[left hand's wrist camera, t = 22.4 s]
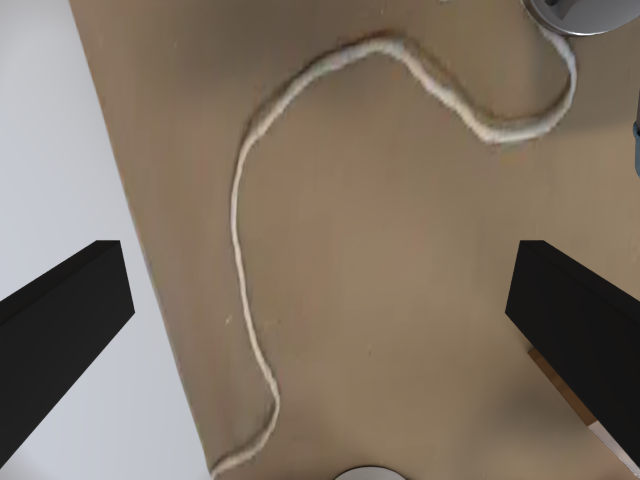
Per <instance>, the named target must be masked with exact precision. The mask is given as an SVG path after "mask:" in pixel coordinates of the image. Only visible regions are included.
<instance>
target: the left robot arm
mask: <svg viewBox="0 0 640 480" xmlns="http://www.w3.org/2000/svg"><path fill="white" fill-rule="evenodd" d="M523 1H524V3H525V5H526V7H527V9H528V10H529V12H530V13H531V15H532V16H533V17H534V18H535V19H536V20H537V21H538V22H539V23H540V24H541V25H542V26H544V27H545V28H547V29H548V30H550V31H552V32H554V33H557V34H560V35H564V36H569V37H585V36H591V35H595V34H600V33H604V32H607V31H610V30H613V29H616V28H618V27H620V26H622V25H624V24H626V23H628V22H630V21H632V20H634V19H636V18H637V17H639V16H640V0H523ZM633 134H634V137H635V139H636V147H635V169H636V172H637V174H638V176H639V177H640V92H639V101H638V110H637V119H636V122H635V123H634V125H633ZM134 313H135V310H134V305H133V301H132V296H131V291H130V286H129V281H128V277H127V272H126V267H125V262H124V258H123V253H122V248H121V243H120V240H96V241H95V242H93V243H92V244H90V245H88V246H87V247H85V248H84V249H82V250H81V251H79V252H77V253H76V254H74V255H73V256H71V257H70V258H68V259H66V260H65V261H63V262H62V263H60V264H58V265H57V266H55V267H54V268H52V269H51V270H49V271H47V272H46V273H44V274H43V275H41V276H40V277H38V278H36V279H35V280H33V281H32V282H30V283H29V284H27V285H25V286H24V287H22V288H21V289H19V290H18V291H16V292H14V293H13V294H11V295H10V296H8V297H7V298H5V299H3V300H2V301H0V469H1V468H2V467H3V465H4V464H5V463H6V462H7V461H8V460H9V458H10V457H11V456H12V455H13V454H14V453H15V451H16V450H17V449H18V448H19V447H20V446H21V445H22V443H23V442H24V441H25V440H26V439H27V437H28V436H29V435H30V434H31V433H32V432H33V431H34V429H35V428H36V427H37V426H38V425H39V424H40V422H41V421H42V420H43V419H44V418H45V417H46V416H47V414H48V413H49V412H50V411H51V410H52V409H53V407H54V406H55V405H56V404H57V403H58V402H59V400H60V399H61V398H62V397H63V396H64V395H65V393H66V392H67V391H68V390H69V389H70V388H71V387H72V385H73V384H74V383H75V382H76V381H77V380H78V378H79V377H80V376H81V375H82V374H83V373H84V371H85V370H86V369H87V368H88V367H89V366H90V365H91V363H92V362H93V361H94V360H95V359H96V358H97V356H98V355H99V354H100V353H101V352H102V351H103V349H104V348H105V347H106V346H107V345H108V344H109V342H110V341H111V340H112V339H113V338H114V337H115V335H116V334H117V333H118V332H119V331H120V330H121V329H122V327H123V326H124V325H125V324H126V323H127V322H128V320H129V319H130V318H131V317H132V316H133V315H134ZM505 313H506V315H507V316H508V317H509V318H510V319H511V320H512V322H513V323H514V324H515V325H516V326H517V327H518V329H519V330H520V331H521V332H522V333H523V334H524V336H525V337H526V338H527V339H528V340H529V341H530V342H531V344H532V345H533V346H534V347H535V348H536V349H537V351H538V352H539V353H540V354H541V355H542V356H543V358H544V359H545V360H546V361H547V362H548V363H549V365H550V366H551V367H552V368H553V369H554V370H555V371H556V373H557V374H558V375H559V376H560V377H561V378H562V380H563V381H564V382H565V383H566V384H567V385H568V387H569V388H570V389H571V390H572V391H573V392H574V393H575V395H576V396H577V397H578V398H579V399H580V400H581V402H582V403H583V404H584V405H585V406H586V407H587V409H588V410H589V411H590V412H591V413H592V414H593V416H594V417H595V418H596V419H597V420H598V421H599V422H600V424H601V425H602V426H603V427H604V428H605V429H606V431H607V432H608V433H609V434H610V435H611V436H612V438H613V439H614V440H615V441H616V442H617V443H618V445H619V446H620V447H621V448H622V449H623V450H624V451H625V453H626V454H627V455H628V456H629V457H630V458H631V460H632V461H633V462H634V463H635V464H636V465H637V467H638V468H639V469H640V301H638V300H637V299H635V298H634V297H632V296H630V295H629V294H627V293H626V292H624V291H623V290H621V289H619V288H618V287H616V286H615V285H613V284H611V283H610V282H608V281H607V280H605V279H604V278H602V277H600V276H599V275H597V274H596V273H594V272H593V271H591V270H589V269H588V268H586V267H585V266H583V265H582V264H580V263H578V262H577V261H575V260H574V259H572V258H571V257H569V256H567V255H566V254H564V253H563V252H561V251H560V250H558V249H556V248H555V247H553V246H552V245H550V244H548V243H547V242H545V241H544V240H520V243H519V248H518V253H517V258H516V262H515V267H514V272H513V277H512V281H511V286H510V291H509V296H508V300H507V305H506V310H505Z"/></svg>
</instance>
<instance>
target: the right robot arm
mask: <svg viewBox="0 0 640 480" xmlns="http://www.w3.org/2000/svg"><path fill="white" fill-rule="evenodd" d="M335 480H406V479H404V478H403V477H402V476H400V475H399V474H397V473H395V472H393V471H391V470H388V469H384V468H379V467H363V468H357V469H353V470H350V471H348V472H345V473H343V474H342V475H340V476H339V477H337V478H336V479H335Z"/></svg>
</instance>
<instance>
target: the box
mask: <svg viewBox="0 0 640 480" xmlns="http://www.w3.org/2000/svg"><path fill="white" fill-rule="evenodd" d="M528 354H529V356H530V357H531V358H532V359H533V360H534V362H535V363H536V364H537V365H538V367H539V368H540V369H541V370H542V371H543V373H544V374H545V375H546V376H547V378H548V379H549V380H550V381H551V383H552V384H553V385H554V386H555V387H556V389H557V390H558V391H559V392H560V394H561V395H562V396H563V397H564V399H565V400H566V401H567V402H568V403H569V405H570V406H571V407H572V408H573V410H574V411H575V412H576V413H577V414H578V416H579V417H580V418H581V419H582V421H583V422H584V423H585V424H586V426H587V427H588V428H589V429H590V430H591V431H592V432H593V433H594V434H595V435H596V436H597V437H598V438H599V439H600V440H601V441H602V442H603V443H604V444H605V445H606V446H607V447H608V448H609V449H610V450H611V451H612V452H613V453H614V454H615V455H616V456H617V457H618V458H619V459H620V460H621V461H622V462H623V463H624V464H625V465H626V466H627V467H628V468H629V469H630V470H631V471H632V472H633V473H634V474H635V475H636V476H637V477H638V478H639V479H640V469H639V468H638V467H637V465H636V464H635V463H634V462H633V461H632V460H631V458H630V457H629V456H628V455H627V454H626V453H625V451H624V450H623V449H622V448H621V447H620V446H619V445H618V443H617V442H616V441H615V440H614V439H613V438H612V436H611V435H610V434H609V433H608V432H607V431H606V429H605V428H604V427H603V426H602V425H601V424H600V422H599V421H598V420H597V419H596V418H595V417H594V416H593V414H592V413H591V412H590V411H589V410H588V409H587V407H586V406H585V405H584V404H583V403H582V402H581V400H580V399H579V398H578V397H577V396H576V395H575V393H574V392H573V391H572V390H571V389H570V388H569V387H568V385H567V384H566V383H565V382H564V381H563V380H562V378H561V377H560V376H559V375H558V374H557V373H556V371H555V370H554V369H553V368H552V367H551V366H550V365H549V363H548V362H547V361H546V360H545V359H544V358H543V356H542V355H541V354H540V353H539V352H538V351H537V349H536V348H535V349H533V350H532V351H530V352H529V353H528Z"/></svg>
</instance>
